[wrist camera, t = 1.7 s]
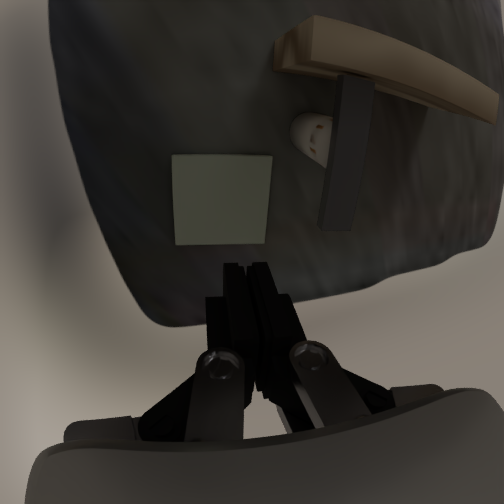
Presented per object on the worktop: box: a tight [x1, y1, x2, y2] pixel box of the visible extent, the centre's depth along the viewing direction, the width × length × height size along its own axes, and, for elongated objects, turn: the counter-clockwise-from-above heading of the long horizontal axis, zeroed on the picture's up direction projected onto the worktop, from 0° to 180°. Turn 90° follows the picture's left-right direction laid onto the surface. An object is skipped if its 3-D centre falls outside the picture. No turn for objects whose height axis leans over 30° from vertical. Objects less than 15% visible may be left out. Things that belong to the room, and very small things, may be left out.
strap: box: [317, 75, 375, 231], centre depth 18 cm, size 11×2×1 cm, turn 176°
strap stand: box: [273, 15, 499, 125], centre depth 18 cm, size 3×18×10 cm, turn 86°
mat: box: [172, 154, 273, 245], centre depth 27 cm, size 9×9×1 cm
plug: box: [289, 112, 333, 168], centre depth 22 cm, size 4×4×7 cm
